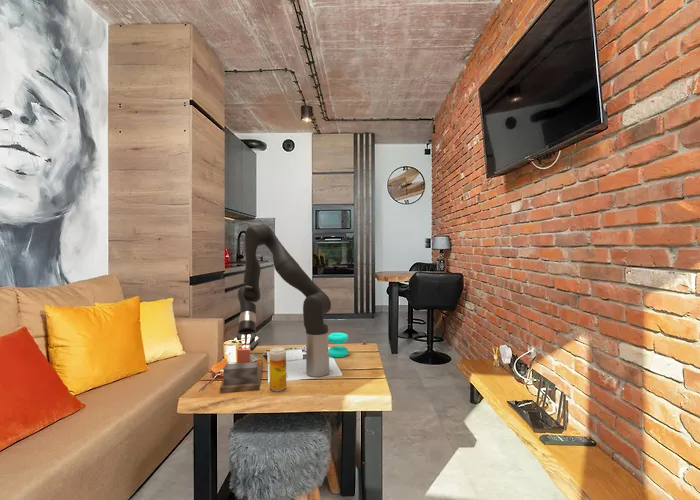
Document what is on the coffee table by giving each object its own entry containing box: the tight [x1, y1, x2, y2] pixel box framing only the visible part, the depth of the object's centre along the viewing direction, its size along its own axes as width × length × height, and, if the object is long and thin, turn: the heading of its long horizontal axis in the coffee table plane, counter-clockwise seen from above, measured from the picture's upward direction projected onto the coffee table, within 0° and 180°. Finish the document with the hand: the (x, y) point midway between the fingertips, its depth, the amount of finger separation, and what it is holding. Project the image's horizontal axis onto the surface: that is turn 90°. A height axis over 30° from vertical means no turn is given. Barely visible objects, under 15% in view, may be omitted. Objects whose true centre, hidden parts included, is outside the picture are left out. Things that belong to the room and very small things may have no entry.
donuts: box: [328, 332, 349, 358], centre depth 179 cm, size 10×10×10 cm
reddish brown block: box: [236, 347, 252, 363], centre depth 153 cm, size 5×3×9 cm, turn 100°
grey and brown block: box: [219, 361, 263, 394], centre depth 147 cm, size 14×20×8 cm
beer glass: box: [268, 346, 287, 392], centre depth 140 cm, size 6×6×15 cm
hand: (245, 359), depth 156 cm, fingers closed
